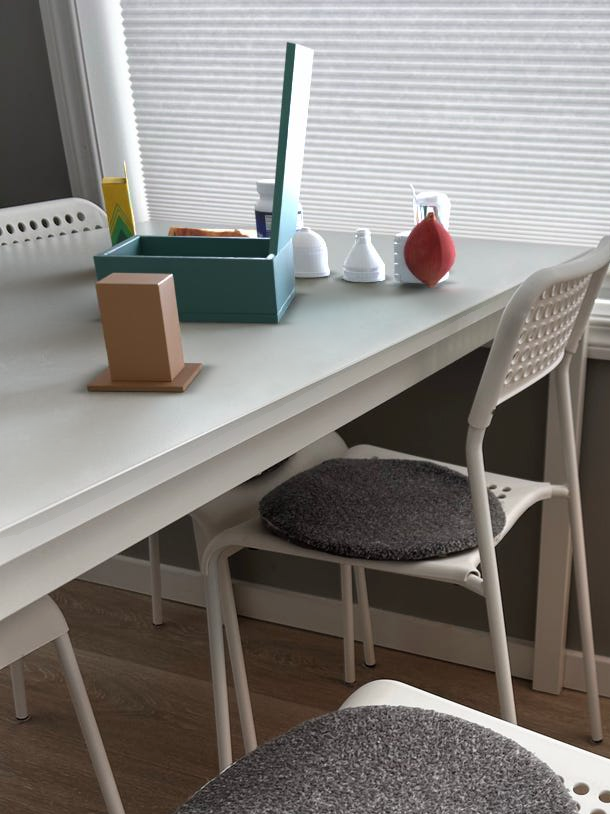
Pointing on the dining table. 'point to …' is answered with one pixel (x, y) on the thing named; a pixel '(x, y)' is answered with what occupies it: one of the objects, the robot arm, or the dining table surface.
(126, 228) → the crayon box
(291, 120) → the lunchbox lid
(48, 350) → the dining table surface
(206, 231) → the bread slice
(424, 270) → the onion
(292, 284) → the box
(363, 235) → the container set
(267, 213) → the pill bottle
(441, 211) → the milkshake
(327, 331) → the dining table surface
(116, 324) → the carton
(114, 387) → the mat
